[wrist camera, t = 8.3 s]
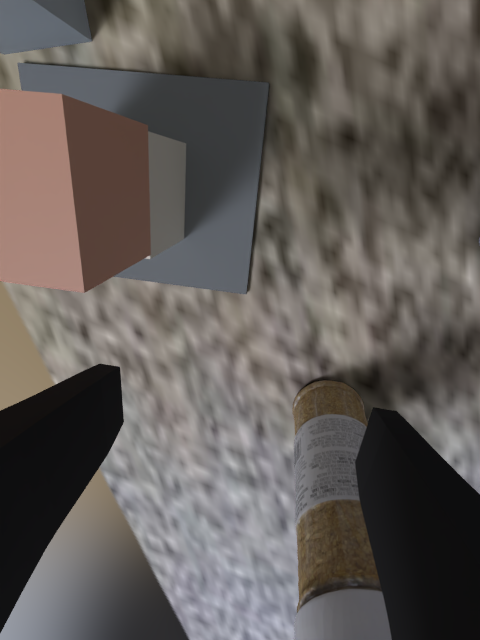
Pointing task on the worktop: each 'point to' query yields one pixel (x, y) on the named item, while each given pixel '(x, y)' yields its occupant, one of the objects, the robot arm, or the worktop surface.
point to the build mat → (187, 160)
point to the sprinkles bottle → (333, 520)
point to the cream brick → (166, 192)
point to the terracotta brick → (70, 191)
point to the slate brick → (42, 24)
